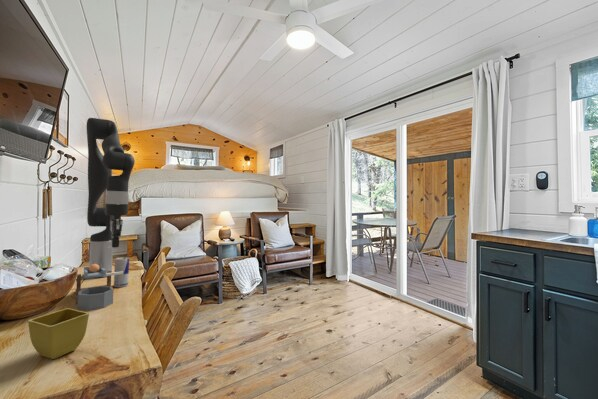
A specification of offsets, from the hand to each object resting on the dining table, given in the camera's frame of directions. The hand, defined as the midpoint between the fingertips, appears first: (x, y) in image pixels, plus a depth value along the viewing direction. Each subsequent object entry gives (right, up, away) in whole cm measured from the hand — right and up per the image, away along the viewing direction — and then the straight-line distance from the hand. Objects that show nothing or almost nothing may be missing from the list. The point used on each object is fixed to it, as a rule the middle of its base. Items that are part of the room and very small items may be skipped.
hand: (115, 247), depth 109 cm
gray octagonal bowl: (-1, -19, -9) cm, 21 cm away
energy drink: (-6, -19, +13) cm, 24 cm away
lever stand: (-9, -19, 0) cm, 21 cm away
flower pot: (+12, -19, -40) cm, 46 cm away
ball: (-11, -9, +4) cm, 15 cm away
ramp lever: (-6, -13, +2) cm, 14 cm away
